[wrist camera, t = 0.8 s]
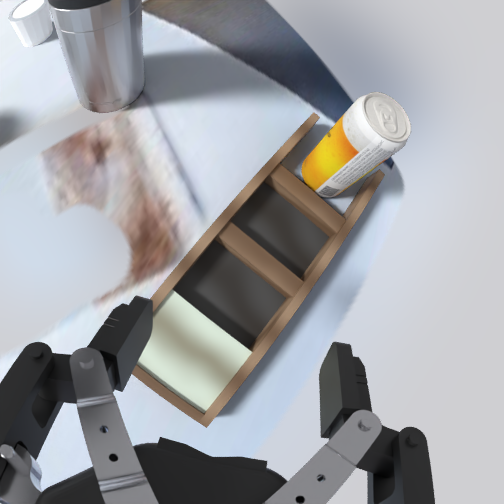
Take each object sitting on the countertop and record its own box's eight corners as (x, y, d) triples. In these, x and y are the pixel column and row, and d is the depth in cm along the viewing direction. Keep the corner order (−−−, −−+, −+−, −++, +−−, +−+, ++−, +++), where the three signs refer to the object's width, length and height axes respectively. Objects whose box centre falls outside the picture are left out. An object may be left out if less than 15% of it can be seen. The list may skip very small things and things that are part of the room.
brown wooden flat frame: (204, 418, 31) (206, 427, 28) (113, 350, 30) (107, 353, 28) (372, 182, 41) (384, 174, 38) (305, 124, 40) (313, 112, 38)
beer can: (340, 158, 41) (406, 98, 26) (345, 201, 40) (420, 151, 25) (297, 152, 39) (354, 81, 25) (300, 197, 38) (365, 137, 24)
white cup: (53, 17, 35) (45, -11, 29) (59, 36, 35) (50, 5, 28) (18, 35, 33) (7, 8, 27) (21, 56, 33) (9, 27, 26)
